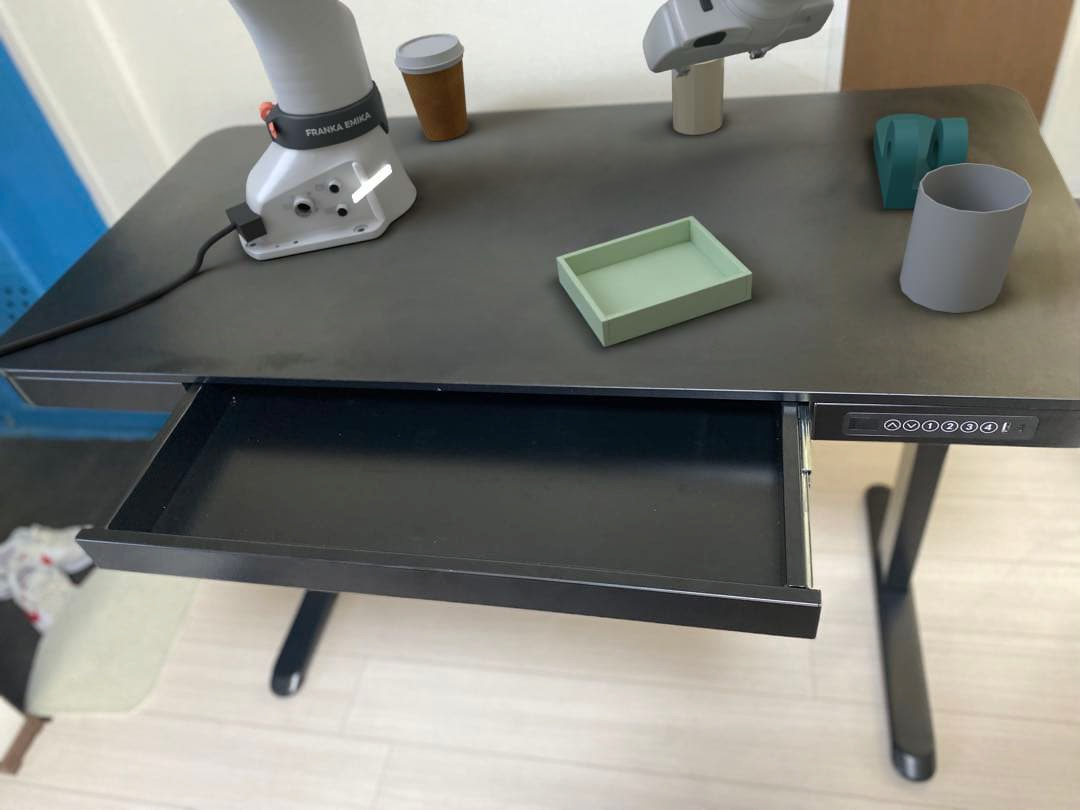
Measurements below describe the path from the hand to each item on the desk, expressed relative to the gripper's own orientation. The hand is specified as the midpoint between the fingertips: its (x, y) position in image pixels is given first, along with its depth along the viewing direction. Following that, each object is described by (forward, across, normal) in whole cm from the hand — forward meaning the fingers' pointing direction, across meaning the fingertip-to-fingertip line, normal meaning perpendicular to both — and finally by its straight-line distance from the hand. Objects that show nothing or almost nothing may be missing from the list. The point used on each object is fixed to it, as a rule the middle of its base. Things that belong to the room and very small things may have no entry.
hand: (716, 62), depth 93 cm
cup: (-19, -7, +34) cm, 40 cm away
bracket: (-5, -16, +19) cm, 25 cm away
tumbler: (+11, 0, +3) cm, 12 cm away
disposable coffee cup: (+23, +32, -8) cm, 40 cm away
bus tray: (-12, +18, +26) cm, 34 cm away
